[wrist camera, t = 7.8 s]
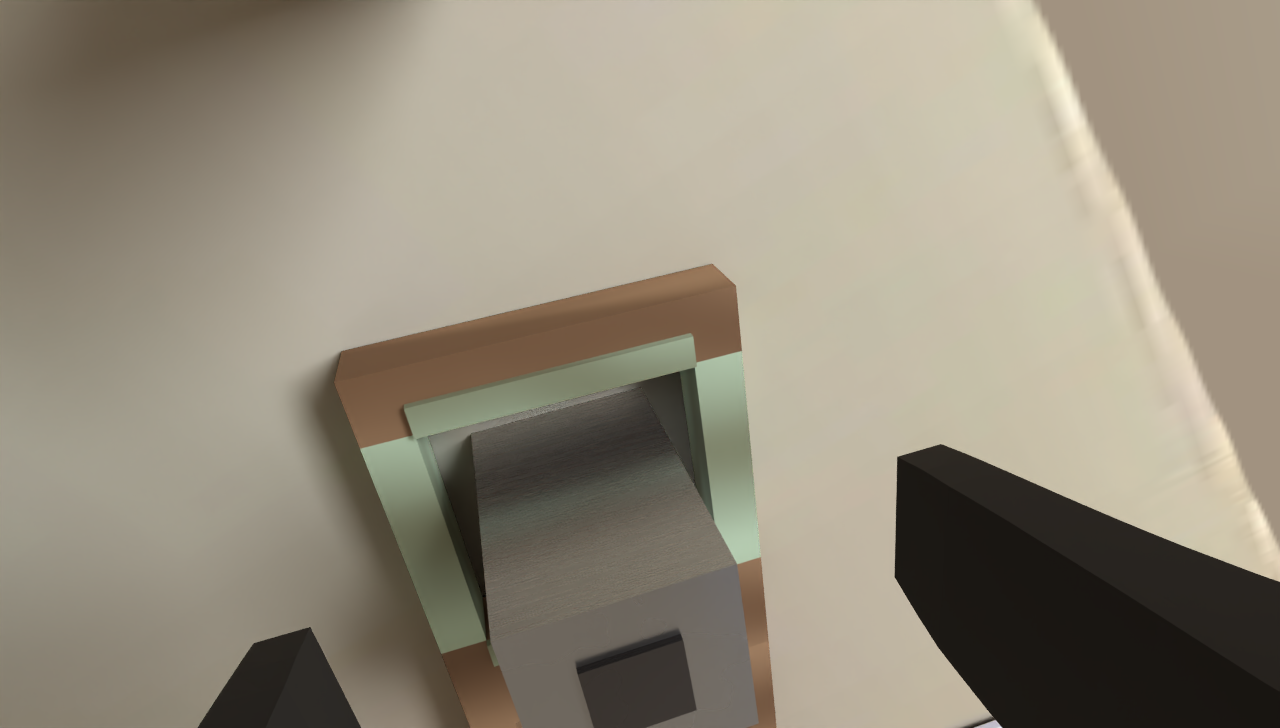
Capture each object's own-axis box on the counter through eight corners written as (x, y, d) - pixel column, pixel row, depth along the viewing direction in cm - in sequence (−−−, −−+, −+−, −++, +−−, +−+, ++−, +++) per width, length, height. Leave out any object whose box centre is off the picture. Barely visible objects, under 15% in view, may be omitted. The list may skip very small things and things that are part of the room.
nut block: (665, 518, 21) (761, 729, 15) (514, 564, 21) (550, 804, 15) (640, 386, 19) (740, 569, 13) (471, 433, 19) (491, 648, 12)
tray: (765, 762, 28) (785, 808, 26) (529, 845, 26) (536, 898, 25) (712, 263, 18) (738, 288, 17) (341, 351, 17) (332, 387, 15)
